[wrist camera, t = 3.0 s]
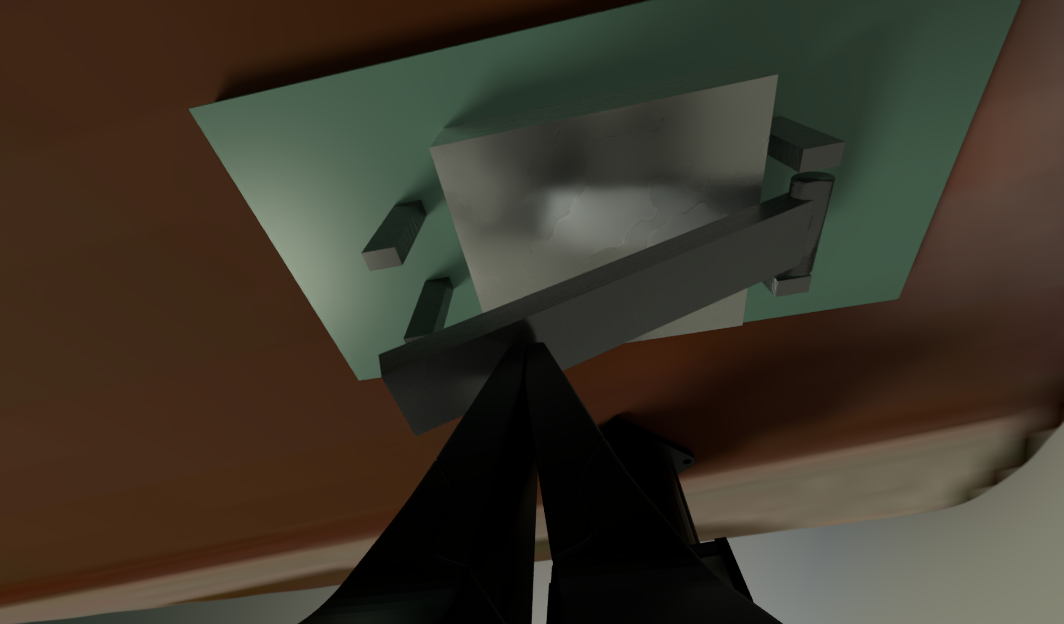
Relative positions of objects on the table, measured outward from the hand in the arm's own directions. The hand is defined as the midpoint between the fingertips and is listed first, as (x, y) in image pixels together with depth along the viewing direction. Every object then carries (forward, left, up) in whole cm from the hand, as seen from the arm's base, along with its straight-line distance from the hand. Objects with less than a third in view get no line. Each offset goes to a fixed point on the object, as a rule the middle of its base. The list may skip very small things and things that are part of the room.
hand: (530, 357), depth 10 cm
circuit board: (-2, -2, -8) cm, 8 cm away
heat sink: (-1, -1, -7) cm, 7 cm away
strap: (-2, -2, -2) cm, 3 cm away
